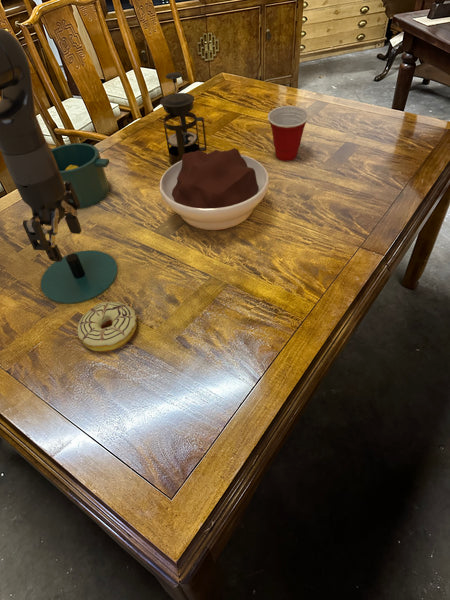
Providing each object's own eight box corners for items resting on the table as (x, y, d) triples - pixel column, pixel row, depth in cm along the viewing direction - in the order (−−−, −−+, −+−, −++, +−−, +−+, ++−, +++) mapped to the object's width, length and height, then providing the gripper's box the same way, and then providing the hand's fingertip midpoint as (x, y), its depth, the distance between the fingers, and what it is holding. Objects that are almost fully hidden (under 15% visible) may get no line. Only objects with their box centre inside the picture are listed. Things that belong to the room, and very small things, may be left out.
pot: (106, 212, 105) (94, 174, 97) (34, 207, 108) (16, 170, 100) (126, 180, 114) (117, 144, 107) (59, 177, 118) (46, 141, 110)
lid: (101, 309, 82) (92, 288, 77) (28, 301, 84) (16, 280, 80) (128, 257, 92) (122, 235, 88) (63, 251, 95) (54, 230, 91)
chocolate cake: (227, 260, 89) (222, 200, 78) (144, 223, 100) (129, 165, 89) (288, 204, 102) (291, 145, 91) (209, 176, 113) (203, 120, 102)
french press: (164, 169, 118) (149, 82, 101) (169, 152, 124) (155, 68, 107) (206, 167, 117) (197, 79, 100) (208, 151, 123) (200, 66, 106)
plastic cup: (264, 165, 115) (265, 122, 107) (269, 147, 123) (269, 105, 114) (304, 167, 114) (308, 123, 105) (306, 148, 121) (310, 105, 112)
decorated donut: (140, 308, 81) (136, 294, 78) (137, 352, 74) (132, 339, 71) (87, 313, 81) (81, 300, 78) (78, 358, 74) (71, 345, 71)
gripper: (35, 149, 75) (66, 223, 87) (-10, 192, 66) (32, 269, 78) (73, 150, 74) (99, 225, 86) (33, 195, 65) (68, 272, 76)
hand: (67, 246), depth 82 cm, fingers open, 8 cm apart
